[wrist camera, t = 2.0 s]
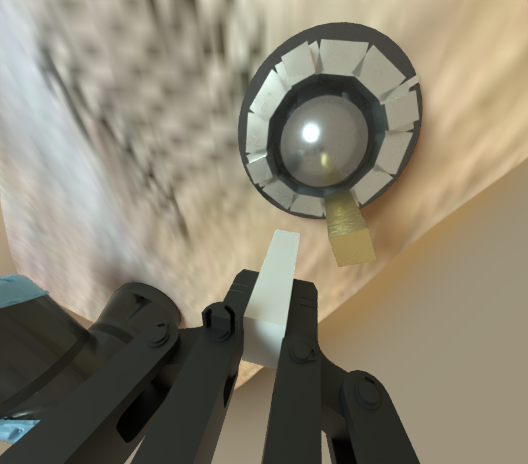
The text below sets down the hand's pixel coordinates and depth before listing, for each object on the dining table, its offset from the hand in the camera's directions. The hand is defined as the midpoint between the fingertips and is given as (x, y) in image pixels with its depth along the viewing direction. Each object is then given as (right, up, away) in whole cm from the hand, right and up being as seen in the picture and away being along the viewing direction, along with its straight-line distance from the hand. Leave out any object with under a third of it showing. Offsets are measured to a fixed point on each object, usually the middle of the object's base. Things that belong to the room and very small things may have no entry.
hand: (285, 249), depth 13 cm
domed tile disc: (+4, +10, +8) cm, 14 cm away
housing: (+5, +12, +10) cm, 16 cm away
